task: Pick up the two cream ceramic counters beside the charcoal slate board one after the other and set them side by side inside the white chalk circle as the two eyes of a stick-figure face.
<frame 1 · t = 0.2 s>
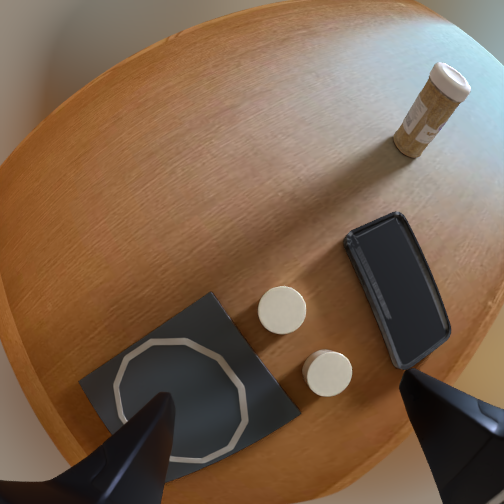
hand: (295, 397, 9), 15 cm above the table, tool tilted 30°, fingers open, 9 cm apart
sprinkles bottle: (406, 145, 29), on the table
slate: (179, 402, 22), on the table
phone: (399, 290, 24), on the table
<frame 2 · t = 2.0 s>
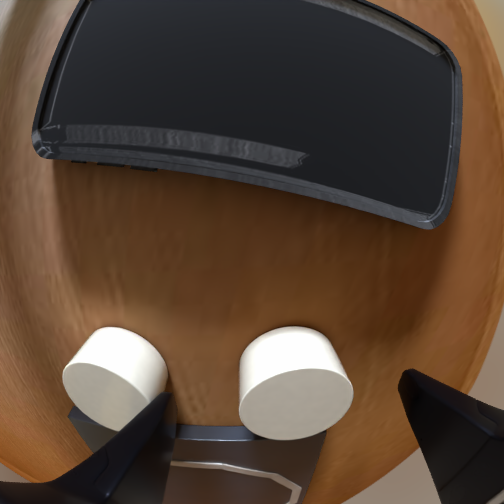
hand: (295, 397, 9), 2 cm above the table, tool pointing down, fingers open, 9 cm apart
slate: (208, 488, 14), on the table
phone: (256, 71, 7), on the table
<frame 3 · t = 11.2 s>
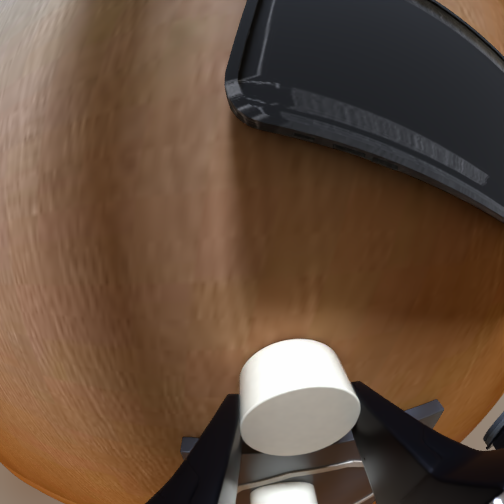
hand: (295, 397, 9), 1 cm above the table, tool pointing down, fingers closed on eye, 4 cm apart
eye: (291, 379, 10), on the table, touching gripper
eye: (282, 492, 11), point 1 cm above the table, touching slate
slate: (305, 491, 13), on the table
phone: (443, 94, 7), on the table
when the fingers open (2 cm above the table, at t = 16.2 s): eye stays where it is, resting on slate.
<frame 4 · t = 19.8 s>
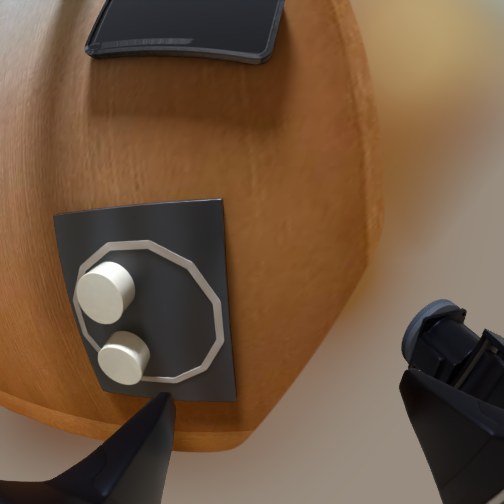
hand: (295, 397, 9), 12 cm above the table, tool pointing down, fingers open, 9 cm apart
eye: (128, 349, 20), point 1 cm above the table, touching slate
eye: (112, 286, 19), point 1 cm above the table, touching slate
slate: (145, 315, 21), on the table
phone: (181, 19, 14), on the table
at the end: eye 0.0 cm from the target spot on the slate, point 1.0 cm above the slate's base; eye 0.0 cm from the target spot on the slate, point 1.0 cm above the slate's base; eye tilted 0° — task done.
